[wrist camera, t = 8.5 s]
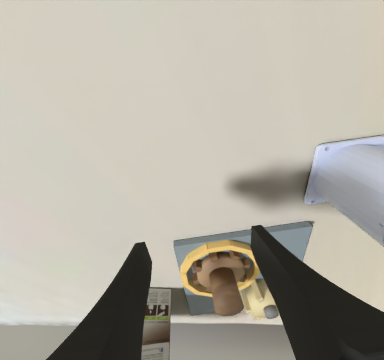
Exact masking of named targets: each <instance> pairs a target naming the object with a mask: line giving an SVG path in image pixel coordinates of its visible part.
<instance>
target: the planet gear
mask: <svg viewBox="0 0 384 360" xmlns="http://www.w3.org/2000/svg"><path fill="white" fill-rule="evenodd" d="M248 269H251V268H250V265H249V262H248V260H247V257H246V258H243V259H241V258H240V255H239V252H236V251H232V250H230V251H229V252H212V253H209V255H208V256H206V257H204V258H203V259H202V260H196V261H194V262H193V271H195V273H192V281H193V283H194V285H196V284H199V283H200V284H201V285H203V286H204V289H205V291H209V292H211V291H212V296H213V302H214V308H215V313H216V314H218V315H220V316H231V315H235V314H237V313H239V312H240V311H242V309H243V307H244V305H243V302H242V299H241V295H240V292H239V289H238V285H237V283H238V282H245V281H246V280H247V276H246V273H245V270H248Z"/></svg>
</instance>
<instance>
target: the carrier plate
mask: <svg viewBox="0 0 384 360" xmlns="http://www.w3.org/2000/svg"><path fill="white" fill-rule="evenodd" d="M265 229H266V230H267V231H268V232H269V233H270V234H271V235H272V236H273V237H274V238H275V239H276V240H277V241H279V242H280V243H281V244H282V245H283V246H284V247H285V248H286V249H288V250H289V251H290V252H291V253H292V254H294V255H295V256H296V257H297V258H298V259H300V260H301V261H303V257H304V254H305V250H306V247H307V244H308V240H309V237H310V233H311V230H312V225H311V224H310V223H309V222H308V221H306V222H299V223H292V224H285V225H279V226H272V227H265ZM251 230H252V229H251ZM251 230H244V231H238V232H231V233H224V234H217V235H210V236H203V237H197V238H190V239H183V240H176V241H174V250H175V254H176V258H177V262H178V266H179V270H180V275H181V279H182V283H183V286H184V290H185V294H186V298H187V303H188V307H189V311H190V315H191V316H193V315H199V314H206V313H213V312H215V308H214V302H213V296H212V291H211V292H209V291H205V289H204V286H203V285H201V284H200V283H199V284H196V285H194V283H193V281H192V273H195V271H193V262H194V261H196V260H202V259H203V258H204V257H206V256H208V255H209V253H212V252H229V251H230V250H232V251H236V252H239V255H240V258H241V259H243V258H246V257H247V260H248V262H249V265H250V268H251V269H248V270H245V273H246V276H247V280H246V281H245V282H238V283H237V285H238V289H239V292H240V295H241V299H242V302H243V305H244V307H243V308H245V310H246V313H251V314H252V315H253V316H254V319H255V320H260V319H261V318H268V319H273V318H276V317H278V316H280V314H279V311H278V309H277V306H276V304H275V301H274V299H273V297H272V295H271V293H270V291H269V289H268V287H267V285H266V283H265V280H264V278H263V276H262V274H261V272H260V270H259V268H258V266H257V264H256V262H255V259H254V256H253V253H252V250H251V247H250V246H251Z"/></svg>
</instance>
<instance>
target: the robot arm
mask: <svg viewBox="0 0 384 360" xmlns="http://www.w3.org/2000/svg"><path fill="white" fill-rule="evenodd" d="M326 147H327V148H326ZM325 148H326V149H325ZM324 202H328V203H330V204H331V205H332V206H333V207H335V208H336V209H337V210H338V211H340V212H341V213H342V214H343V215H345V216H346V217H347V218H348V219H350V220H351V221H352V222H353V223H355V224H356V225H357V226H358V227H360V228H361V229H362V230H363V231H365V232H366V233H367V234H368V235H370V236H371V237H372V238H373V239H375V240H376V241H377V242H378V243H380V244H381V245H382V246H383V247H384V135H381V136H374V137H367V138H360V139H353V140H346V141H339V142H332V143H325V144H320V145H318V146H317V148H316V151H315V155H314V160H313V164H312V168H311V172H310V177H309V181H308V185H307V189H306V194H305V198H304V203H305V204H306V205H310V204H317V203H324ZM250 247H251V250H252V253H253V256H254V259H255V262H256V264H257V266H258V268H259V270H260V272H261V274H262V276H263V278H264V280H265V283H266V285H267V287H268V289H269V291H270V293H271V295H272V297H273V299H274V301H275V304H276V306H277V309H278V311H279V314H280V317H281V319H282V322H283V324H284V327H285V330H286V333H287V335H288V338H289V341H290V343H291V346H292V349H293V352H294V355H295V358H296V360H384V312H382V311H380V310H378V309H376V308H374V307H373V306H371V305H369V304H367V303H365V302H364V301H362V300H360V299H358V298H356V297H355V296H353V295H351V294H350V293H348V292H346V291H345V290H343V289H342V288H340V287H338V286H337V285H335V284H333V283H332V282H330V281H329V280H327V279H326V278H324V277H323V276H321V275H320V274H318V273H317V272H316V271H314V270H313V269H311V268H310V267H309V266H307V265H306V264H305V263H303V262H302V261H301V260H300V259H298V258H297V257H296V256H295V255H294V254H292V253H291V252H290V251H289V250H288V249H286V248H285V247H284V246H283V245H282V244H281V243H280V242H279V241H277V240H276V239H275V238H274V237H273V236H272V235H271V234H270V233H269V232H268V231H267V230H266V229H265V228H264V227H263V226H261V225H257V226H252V230H251V246H250ZM151 271H152V261H151V258H150V255H149V252H148V249H147V247H146V244H145V242H141V243H136V244H135V245H134V247H133V248H132V250H131V252H130V254H129V255H128V257H127V259H126V260H125V262H124V264H123V265H122V267H121V269H120V270H119V272H118V274H117V275H116V277H115V278H114V280H113V281H112V283H111V284H110V285H109V287H108V288H107V290H106V291H105V293H104V294H103V295H102V297H101V298H100V299H99V301H98V302H97V303H96V305H95V306H94V307H93V308H92V310H91V311H90V312H89V313H88V315H87V316H86V317H85V318H84V319H83V321H82V322H81V323H80V324H79V325H78V326H77V327H76V329H75V330H74V331H73V332H72V333H71V334H70V335H69V336H68V337H67V339H65V341H64V342H63V343H62V344H61V345H60V346H59V347H58V348H57V349H56V350H55V351H54V352H53V353H52V354H51V355H50V356H49V357H48V358H47V359H46V360H141V355H142V340H143V328H144V319H145V312H146V306H147V300H148V294H149V288H150V281H151Z"/></svg>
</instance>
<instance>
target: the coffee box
mask: <svg viewBox="0 0 384 360" xmlns="http://www.w3.org/2000/svg"><path fill="white" fill-rule="evenodd" d="M170 315H171V289H157V288H149V294H148V300H147V306H146V312H145V319H144V328H143V340H142V355H141V360H169V352H170Z"/></svg>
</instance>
